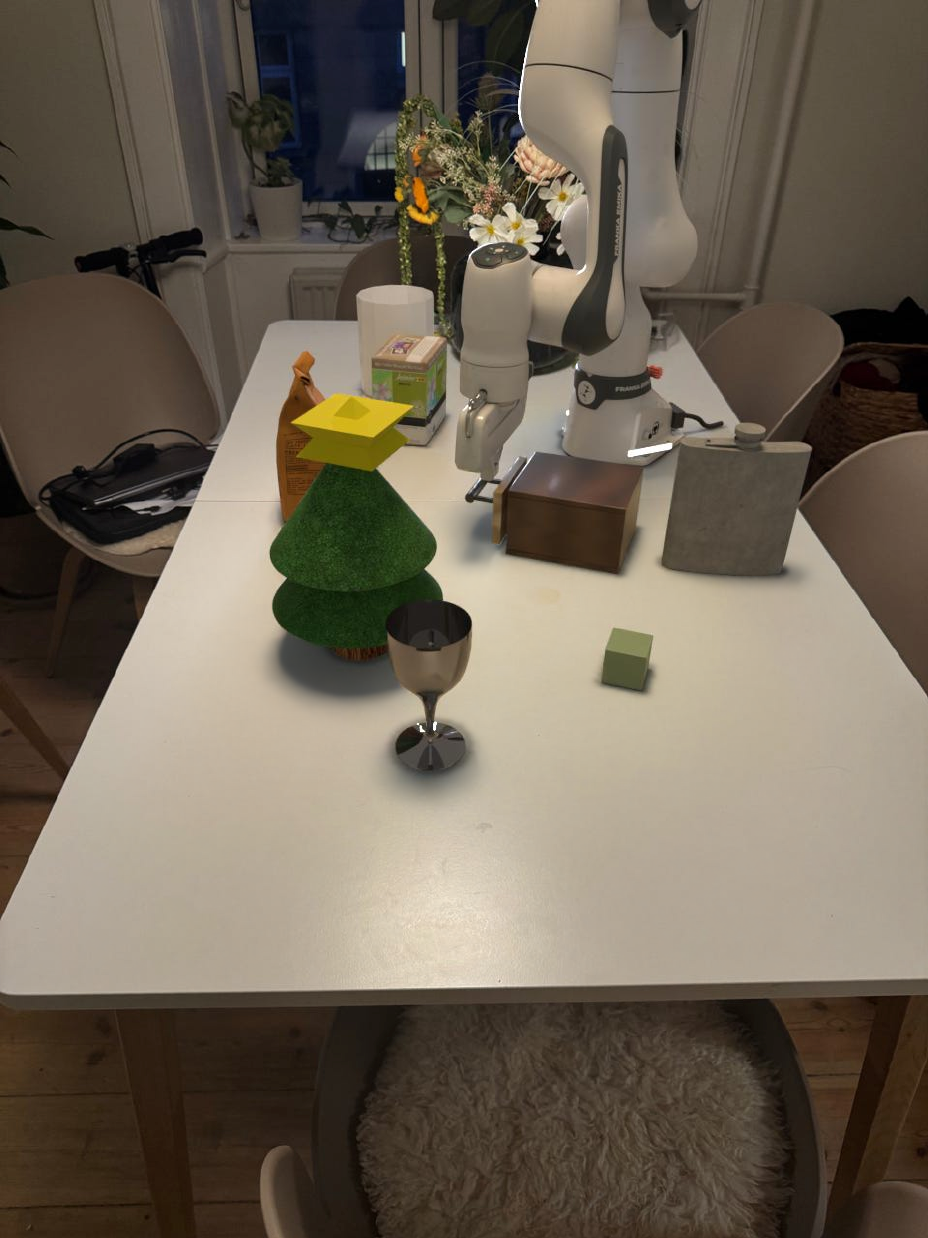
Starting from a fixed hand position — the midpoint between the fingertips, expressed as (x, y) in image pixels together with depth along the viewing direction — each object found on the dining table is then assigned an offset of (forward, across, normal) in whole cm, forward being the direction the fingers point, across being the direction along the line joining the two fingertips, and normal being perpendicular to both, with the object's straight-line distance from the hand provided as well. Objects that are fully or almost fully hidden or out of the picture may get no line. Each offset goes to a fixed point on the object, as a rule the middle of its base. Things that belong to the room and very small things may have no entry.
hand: (489, 476), depth 122 cm
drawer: (+7, 0, -7) cm, 10 cm away
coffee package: (+8, -3, +26) cm, 28 cm away
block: (+8, -28, -25) cm, 38 cm away
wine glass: (+9, -46, -9) cm, 48 cm away
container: (+8, +49, +34) cm, 61 cm away
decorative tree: (+8, -32, +5) cm, 34 cm away
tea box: (+8, +31, +24) cm, 40 cm away
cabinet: (+8, 0, -12) cm, 15 cm away
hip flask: (+8, 0, -33) cm, 34 cm away
